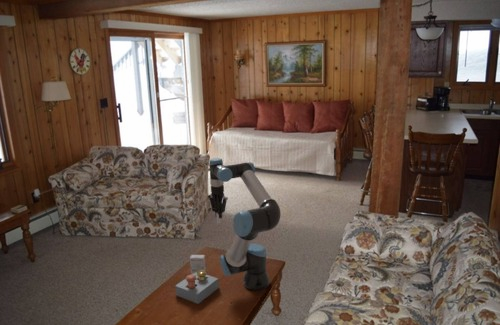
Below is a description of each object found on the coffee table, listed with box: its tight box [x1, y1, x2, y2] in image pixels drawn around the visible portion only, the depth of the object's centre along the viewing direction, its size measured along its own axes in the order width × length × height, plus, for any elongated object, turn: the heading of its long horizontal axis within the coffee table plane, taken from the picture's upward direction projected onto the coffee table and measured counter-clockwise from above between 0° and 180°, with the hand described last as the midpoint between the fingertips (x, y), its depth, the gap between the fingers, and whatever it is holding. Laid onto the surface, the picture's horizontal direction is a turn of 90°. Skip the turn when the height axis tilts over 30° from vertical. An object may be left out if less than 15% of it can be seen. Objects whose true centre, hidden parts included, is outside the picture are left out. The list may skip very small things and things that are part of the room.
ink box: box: [189, 254, 207, 275], centre depth 248 cm, size 9×5×12 cm, turn 84°
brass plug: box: [197, 270, 208, 282], centre depth 233 cm, size 5×5×9 cm
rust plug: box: [185, 274, 196, 289], centre depth 225 cm, size 5×5×9 cm
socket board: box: [174, 271, 220, 305], centre depth 230 cm, size 16×18×6 cm
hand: (219, 222), depth 242 cm, fingers closed
